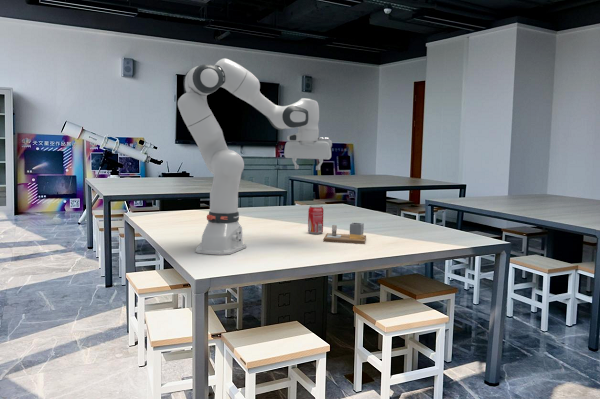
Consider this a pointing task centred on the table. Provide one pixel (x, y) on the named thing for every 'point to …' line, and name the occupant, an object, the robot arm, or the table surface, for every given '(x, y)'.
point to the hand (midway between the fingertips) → (307, 169)
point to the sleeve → (356, 230)
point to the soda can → (315, 219)
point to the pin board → (342, 237)
